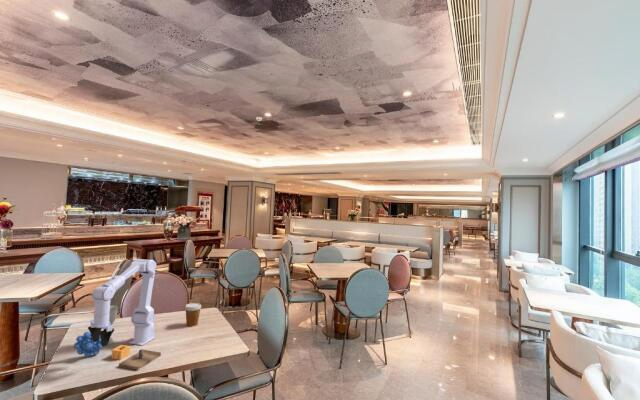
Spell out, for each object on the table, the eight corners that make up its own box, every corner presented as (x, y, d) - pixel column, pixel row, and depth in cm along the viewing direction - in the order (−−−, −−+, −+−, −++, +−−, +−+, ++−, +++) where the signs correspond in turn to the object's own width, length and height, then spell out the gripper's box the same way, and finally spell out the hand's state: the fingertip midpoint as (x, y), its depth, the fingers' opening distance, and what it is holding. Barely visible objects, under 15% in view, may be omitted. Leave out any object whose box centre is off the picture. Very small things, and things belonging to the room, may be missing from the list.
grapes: (71, 364, 134) (73, 337, 135) (73, 357, 140) (74, 331, 140) (103, 357, 141) (105, 332, 141) (103, 351, 147) (105, 327, 147)
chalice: (107, 346, 152) (109, 311, 152) (96, 344, 153) (98, 309, 154) (119, 340, 159) (121, 306, 160) (108, 338, 160) (111, 305, 161)
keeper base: (143, 352, 147) (143, 341, 147) (160, 355, 145) (161, 344, 145) (118, 367, 134) (119, 354, 134) (137, 370, 132) (138, 358, 132)
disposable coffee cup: (184, 322, 187) (185, 303, 188) (201, 321, 190) (202, 302, 191) (182, 328, 178) (183, 308, 179) (199, 327, 181) (200, 307, 182)
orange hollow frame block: (120, 353, 146) (121, 344, 146) (129, 354, 145) (130, 346, 145) (111, 358, 141) (111, 349, 141) (120, 359, 140) (121, 351, 140)
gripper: (83, 312, 135) (81, 342, 134) (100, 319, 128) (98, 351, 127) (101, 308, 141) (99, 337, 141) (118, 314, 134) (116, 345, 134)
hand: (100, 343), depth 134 cm, fingers open, 7 cm apart
